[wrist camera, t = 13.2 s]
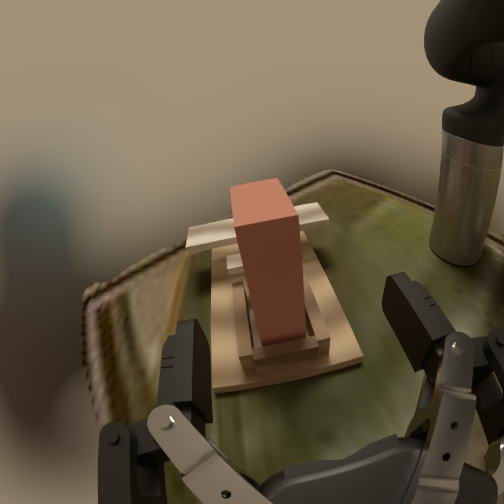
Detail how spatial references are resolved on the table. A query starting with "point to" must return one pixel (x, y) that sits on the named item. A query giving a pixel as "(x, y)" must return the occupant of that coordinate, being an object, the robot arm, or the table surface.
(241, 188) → the terracotta rectangular block
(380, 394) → the table surface
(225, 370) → the jig
